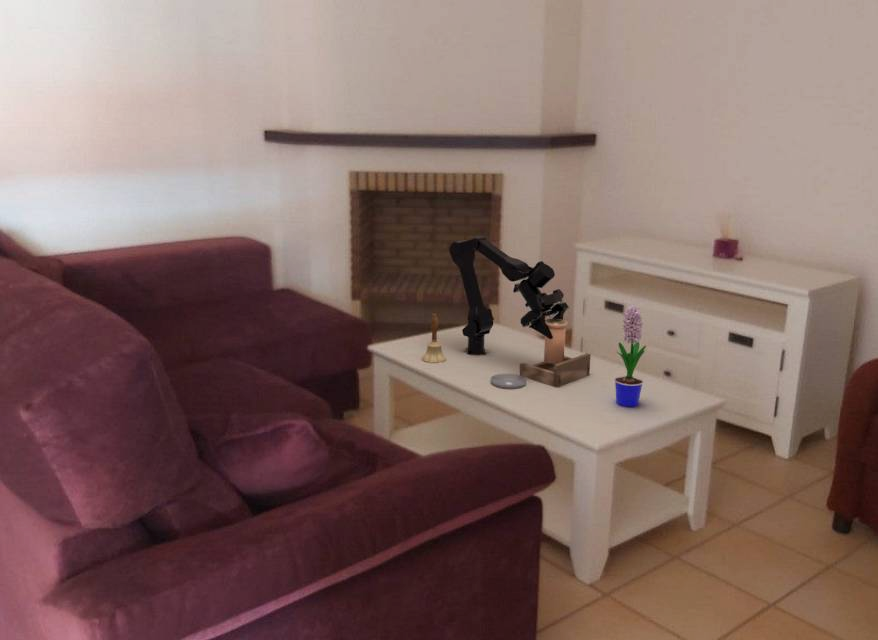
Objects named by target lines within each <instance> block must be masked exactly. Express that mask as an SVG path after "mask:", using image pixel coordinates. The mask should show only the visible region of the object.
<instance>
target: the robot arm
mask: <svg viewBox="0 0 878 640" xmlns="http://www.w3.org/2000/svg"><path fill="white" fill-rule="evenodd" d="M448 248H449V250H448V252H449V255H450V257H451V260H452V262H453V263H454V265H456V267H458V269H459V273H460V276H461V280H462V285H463V288H464V292H465V296H466V299H467V303H468V308H469V310H468V315H467V324H466V325H465V326H464V327H463V328H462V329H461V331H462V335H463V336H464V337H467V347H465V349H466V350H465V351H466V354H467V355H486V354H487V352H486V348H485V338H486V337H485V336H486V335H489V334H490V332H491V329H492V328H493V326H494V320H495V318H494V316H493V313H492V312H493V311H492V309H491V308H487V307H486V306H485V305H484V301H483V298H482V294H481V293H482V292H481V289H480V286H479V282H478V278H477V275H476V271H475V266H474V262H475V258H476V254H475V253H476V252H478V253H480V254H481V255H482V256H484V258H486V259H488V260H489V261H491V262H492V263H493V264H495V265H496V267H498V268H499V269H500V270H501V273H502V275H503V276H504V277H505V278H506V280H508V281H510V282H513V283H514V282H518V281H520V282H519V283H514V286H513V287H514V288H513V290H512V291H513V293H519V292H520V294H521V296H522V298H523V299H524V301H525V302H526V303H525V304H524V305H525V307H526V308H529V309H530V310H528V311H527V312H526V313H525V314H524V315H523V316H522V317H521V318H520V324H521V326H522V327H523V328H526V327H528V328H529V329H532V330H534V331H536V332H537V333H540V334H541V335H542V336H544V337H545V336H546V337H547V338H549V339H552V338H553V336H552V334H551V332H550V330H549V328H548V326H547V325H546V323H545V320H546V318H547V317H549V319H562V320H564V315H565V313H566V311H567V310H569V308H570V306H569V305H568V304H567V302H565V301H564V300H563V299H564V296H565V294H564V292H562V290H561V289H560V288H557V289H555V290H553V291H552V293H551V294H547V293H546V292H542V291H541V289H542V288H544V287H545V286H546V285H547V284H548V283H549V282H550V281H551V280H552V279H554V278H555V276H556V274H555V270H554V269H553V268H552V267H551V266H549V265H548V264H546V263H545V262H544V260H541V261H537V263H536V264H535V265H534V267H532V266H530V265H529V264H528V263H527V262H526V261H523V260H520V259H519V258H514V257H512V256H510V255H508V254H506V252H504V251H503V250H501V249H500V248H499V247H497V246H496V245H495V244H493V243H491V242H490V241H489V240H488V239H487V238H486V237H485V236H477V237H473V238H472V239H469V240H468V239H467V240H466V239H464V240H459V241H453V242H451V244H450V246H449V247H448Z"/></svg>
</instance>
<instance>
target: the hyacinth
mask: <svg viewBox="0 0 878 640" xmlns="http://www.w3.org/2000/svg"><path fill="white" fill-rule="evenodd" d="M623 316H624V318H623V319H622V320H623V321H622V322H623V324H622V331H623V335H622V337H623V342H626V343H627V344H628V345H630V352H627V351H626V349H625V347H624V345H623V344H622V343H621V342H618V348H619V350H620V351H619V352H618V351H616V354H618V355H619V356H620V358H621V359H622V361H623V363H624V365H625V368H626V375H619V376H616V377H614V385H615V387H614V388H615V404H616V405H618V406H619V407H623V408H635V407H637V406H639V403H640V402H639V401H640V396H641V391H642V388H643V387H642V386H643V384H644V381H643V379H642V378H640V377H637V376H633V374H634V371H635V369H636V367H637V364H638V363H639V360H640V358H641V357H642V356H643V354H644V353H645V349H647V345H644V346H642V347H641V348H640V342H639V341H641V339H642V328H643V327H642V326H643V324H644V322H643V321H642V320H643V317H642V314H641V312H640V308H639V307H638V306H636V305H629V306H628V307H627V309H626V310H624V313H623ZM620 352H621V353H620Z"/></svg>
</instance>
